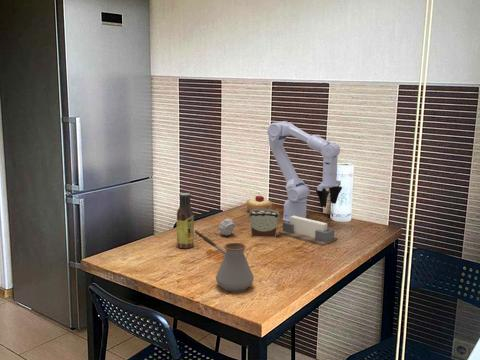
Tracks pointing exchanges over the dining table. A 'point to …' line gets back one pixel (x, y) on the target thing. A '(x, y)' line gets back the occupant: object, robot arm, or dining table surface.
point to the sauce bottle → (185, 222)
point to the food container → (264, 222)
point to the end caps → (318, 234)
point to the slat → (307, 226)
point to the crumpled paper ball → (226, 227)
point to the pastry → (258, 203)
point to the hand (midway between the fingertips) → (328, 204)
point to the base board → (306, 238)
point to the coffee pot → (232, 267)
